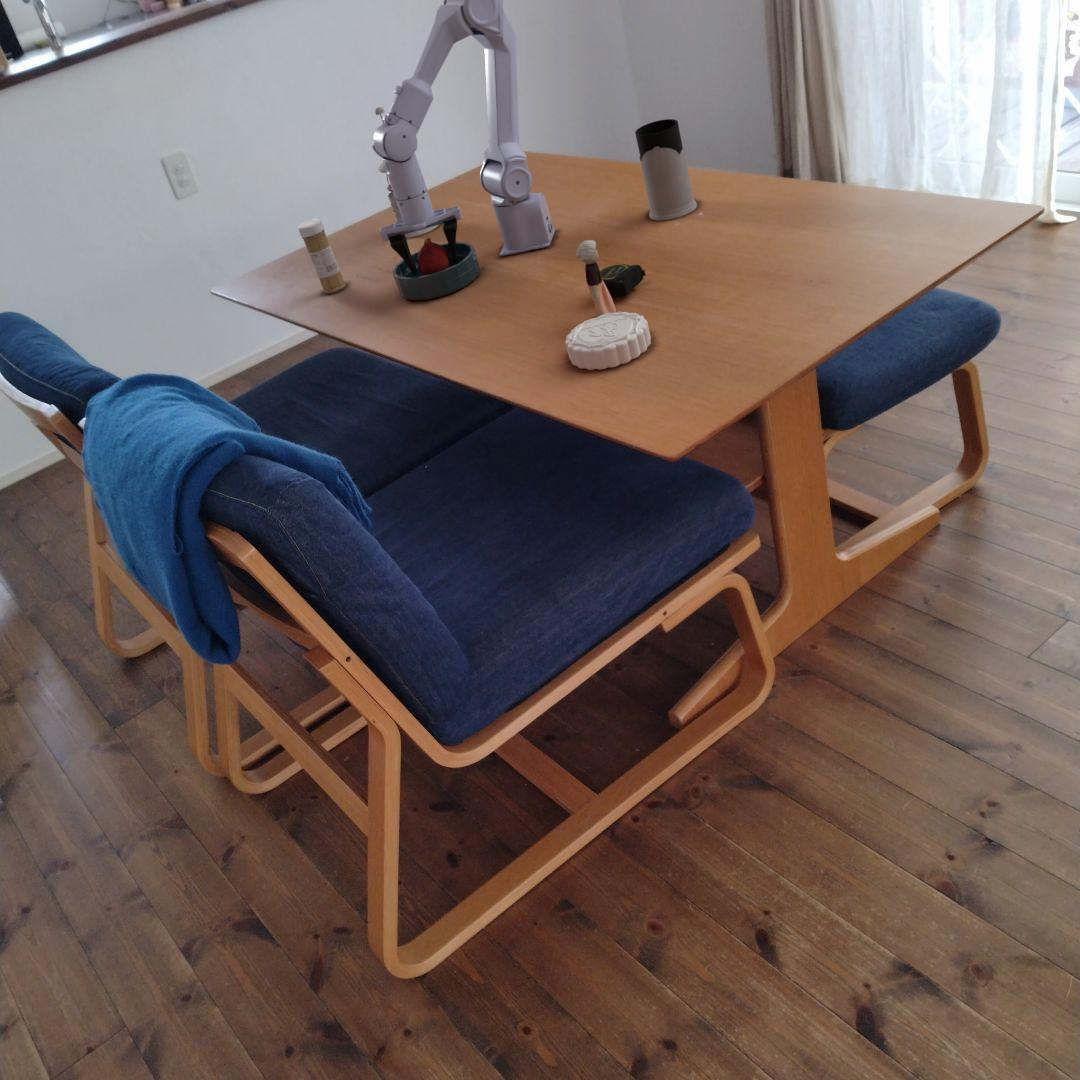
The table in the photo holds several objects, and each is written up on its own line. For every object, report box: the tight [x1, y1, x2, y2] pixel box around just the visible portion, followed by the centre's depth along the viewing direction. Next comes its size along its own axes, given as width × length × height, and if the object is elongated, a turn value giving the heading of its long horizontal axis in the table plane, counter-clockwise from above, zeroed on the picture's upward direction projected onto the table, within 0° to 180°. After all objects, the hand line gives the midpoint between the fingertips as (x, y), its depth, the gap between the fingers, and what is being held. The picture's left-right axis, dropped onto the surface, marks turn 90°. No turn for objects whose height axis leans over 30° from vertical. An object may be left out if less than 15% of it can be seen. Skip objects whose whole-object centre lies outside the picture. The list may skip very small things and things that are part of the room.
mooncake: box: [565, 311, 652, 371], centre depth 157 cm, size 12×12×4 cm
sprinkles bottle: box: [297, 218, 346, 294], centre depth 209 cm, size 5×5×14 cm
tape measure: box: [600, 263, 646, 300], centre depth 173 cm, size 7×7×4 cm
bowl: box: [392, 241, 482, 301], centre depth 199 cm, size 15×15×4 cm
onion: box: [417, 237, 450, 275], centre depth 197 cm, size 6×6×8 cm
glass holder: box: [634, 118, 698, 221], centre depth 197 cm, size 9×14×15 cm, turn 167°
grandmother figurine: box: [575, 239, 617, 318], centre depth 164 cm, size 8×4×13 cm, turn 12°
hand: (435, 267), depth 198 cm, fingers open, 7 cm apart
